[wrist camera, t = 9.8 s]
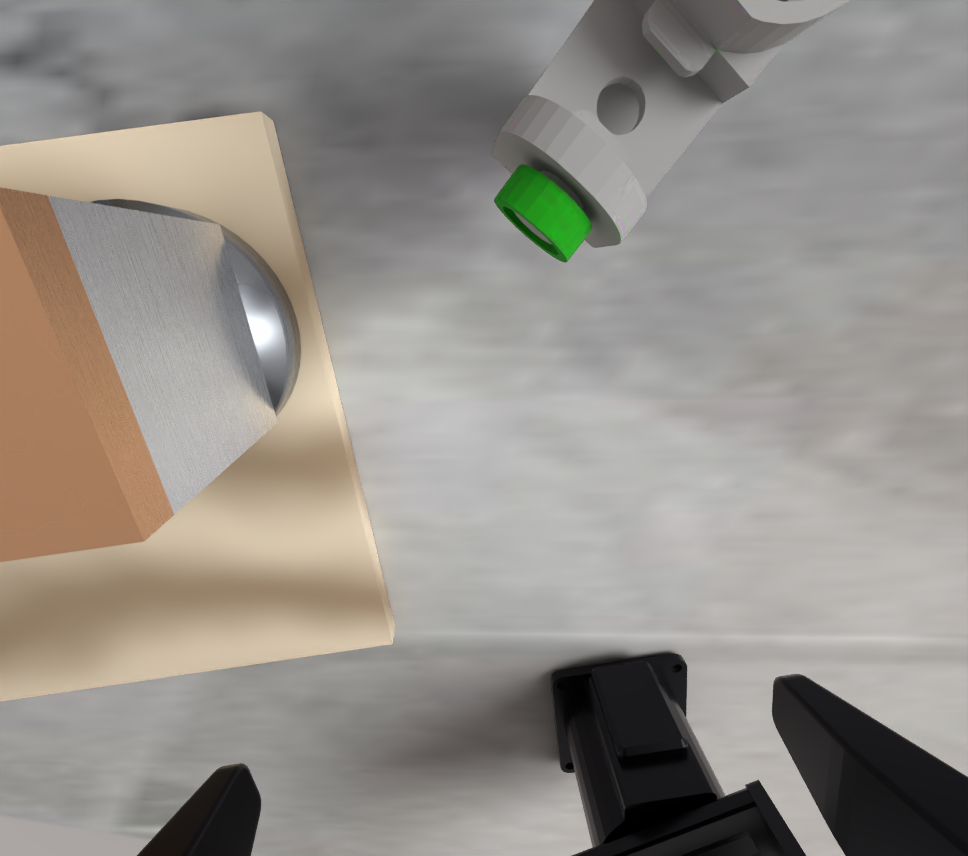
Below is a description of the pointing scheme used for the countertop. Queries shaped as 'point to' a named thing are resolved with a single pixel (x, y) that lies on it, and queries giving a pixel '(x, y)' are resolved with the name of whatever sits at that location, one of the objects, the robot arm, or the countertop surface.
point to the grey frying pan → (253, 304)
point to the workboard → (231, 495)
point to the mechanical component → (630, 108)
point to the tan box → (115, 372)
